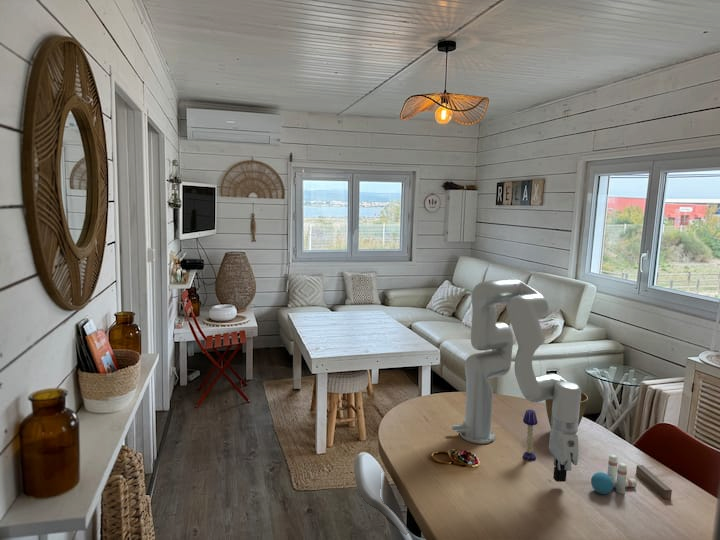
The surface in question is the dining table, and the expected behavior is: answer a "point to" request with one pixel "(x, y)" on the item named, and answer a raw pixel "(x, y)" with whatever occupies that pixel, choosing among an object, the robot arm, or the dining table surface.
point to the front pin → (628, 482)
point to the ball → (602, 483)
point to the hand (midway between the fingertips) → (559, 480)
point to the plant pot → (582, 407)
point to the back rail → (654, 482)
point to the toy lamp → (530, 433)
